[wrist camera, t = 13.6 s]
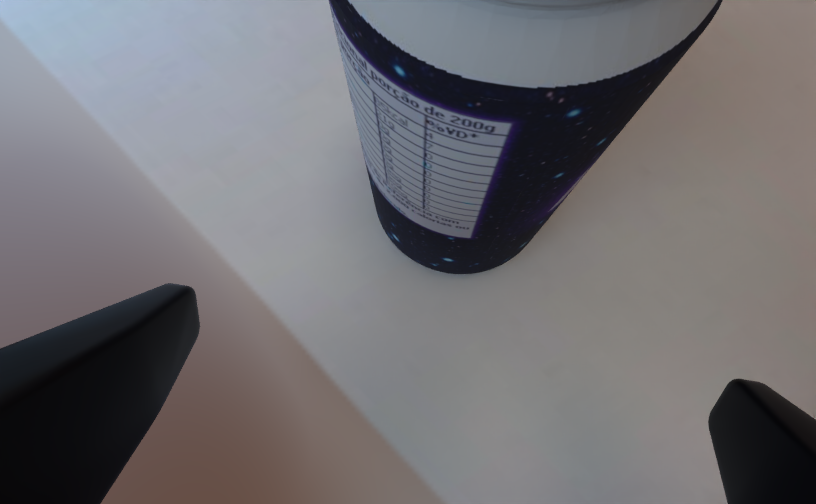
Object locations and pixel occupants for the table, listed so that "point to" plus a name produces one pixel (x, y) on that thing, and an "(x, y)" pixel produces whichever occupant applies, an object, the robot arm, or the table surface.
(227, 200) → the table surface
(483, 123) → the beverage can
